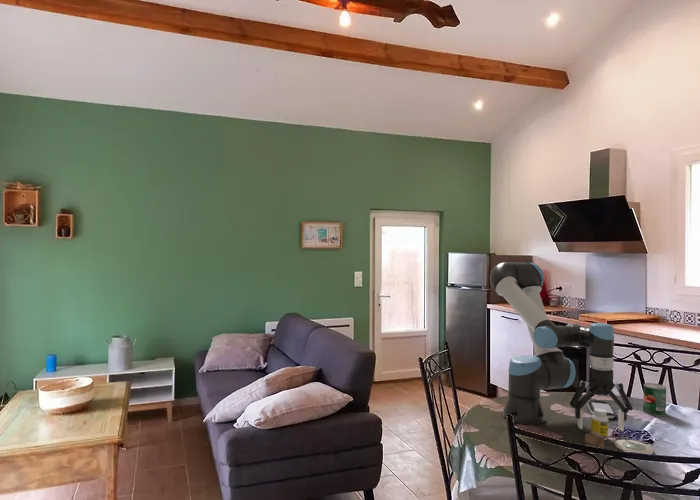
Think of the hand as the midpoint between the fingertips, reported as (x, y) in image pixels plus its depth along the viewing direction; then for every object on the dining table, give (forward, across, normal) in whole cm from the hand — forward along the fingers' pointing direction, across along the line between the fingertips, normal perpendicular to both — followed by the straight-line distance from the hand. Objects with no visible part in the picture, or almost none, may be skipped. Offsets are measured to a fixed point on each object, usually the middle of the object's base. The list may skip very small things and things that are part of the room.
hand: (600, 428), depth 172 cm
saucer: (+4, +8, -8) cm, 11 cm away
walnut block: (+4, -5, -9) cm, 11 cm away
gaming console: (+4, +12, +30) cm, 32 cm away
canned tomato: (+3, +33, +31) cm, 46 cm away
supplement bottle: (+4, 0, 0) cm, 4 cm away
